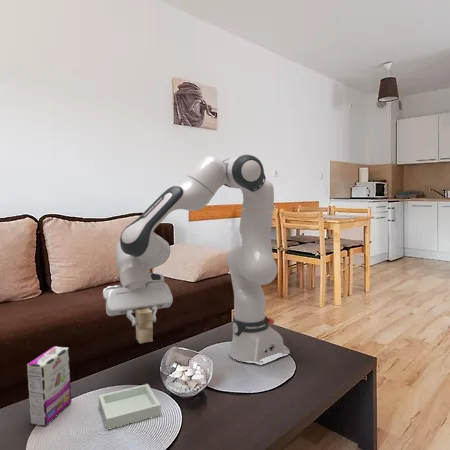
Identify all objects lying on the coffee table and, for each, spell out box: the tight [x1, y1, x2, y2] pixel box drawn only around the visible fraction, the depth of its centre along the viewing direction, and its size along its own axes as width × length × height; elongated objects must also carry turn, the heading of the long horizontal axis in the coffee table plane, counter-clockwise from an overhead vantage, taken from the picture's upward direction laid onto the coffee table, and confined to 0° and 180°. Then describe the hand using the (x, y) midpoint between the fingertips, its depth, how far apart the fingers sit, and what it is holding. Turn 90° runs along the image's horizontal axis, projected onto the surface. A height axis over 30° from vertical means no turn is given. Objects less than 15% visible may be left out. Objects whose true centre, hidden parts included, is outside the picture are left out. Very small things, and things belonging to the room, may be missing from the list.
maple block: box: [134, 308, 154, 344], centre depth 115 cm, size 4×4×9 cm
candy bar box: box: [26, 345, 72, 426], centre depth 102 cm, size 11×5×16 cm, turn 168°
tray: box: [98, 383, 162, 430], centre depth 104 cm, size 14×12×3 cm
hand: (144, 323), depth 114 cm, fingers closed on maple block, 4 cm apart
